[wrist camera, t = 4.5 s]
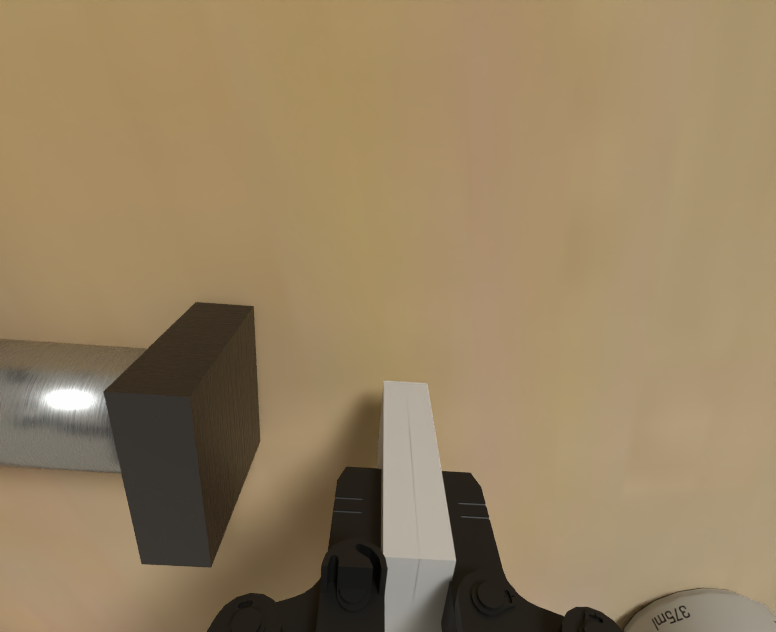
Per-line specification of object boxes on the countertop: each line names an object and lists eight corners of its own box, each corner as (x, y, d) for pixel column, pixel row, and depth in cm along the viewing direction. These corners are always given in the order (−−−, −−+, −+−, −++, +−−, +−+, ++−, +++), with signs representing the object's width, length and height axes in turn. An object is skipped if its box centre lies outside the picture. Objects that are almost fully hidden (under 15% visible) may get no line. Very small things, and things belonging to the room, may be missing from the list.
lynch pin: (-71, 283, 15) (-303, 365, 10) (253, 306, 15) (189, 396, 10) (-19, 424, 17) (-183, 548, 12) (259, 441, 18) (211, 567, 13)
